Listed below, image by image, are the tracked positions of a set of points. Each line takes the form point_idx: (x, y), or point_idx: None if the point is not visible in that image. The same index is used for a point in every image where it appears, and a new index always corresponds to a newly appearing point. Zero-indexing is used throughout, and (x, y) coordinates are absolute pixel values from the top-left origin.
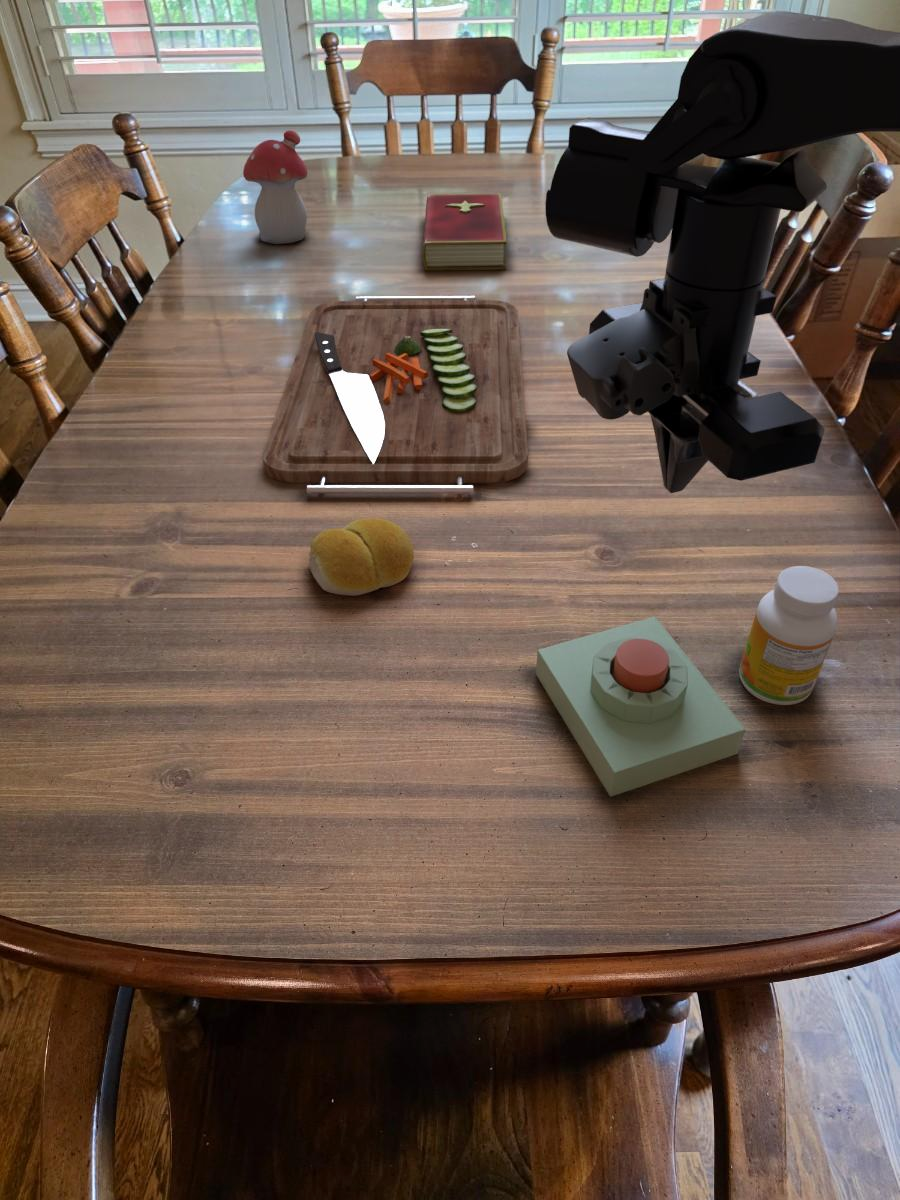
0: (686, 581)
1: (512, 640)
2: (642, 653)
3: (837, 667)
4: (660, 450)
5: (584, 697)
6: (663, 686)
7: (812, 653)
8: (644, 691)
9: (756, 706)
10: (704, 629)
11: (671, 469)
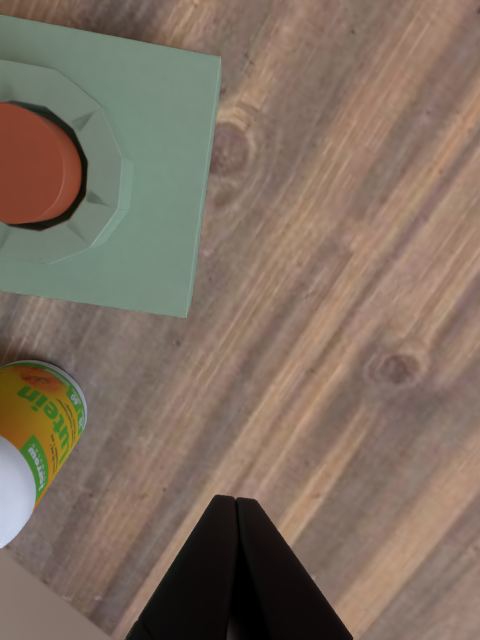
0: (272, 435)
1: (315, 90)
2: (13, 170)
3: None
4: (310, 619)
5: (65, 61)
6: None
7: None
8: None
9: (4, 351)
10: (171, 390)
11: (200, 570)
